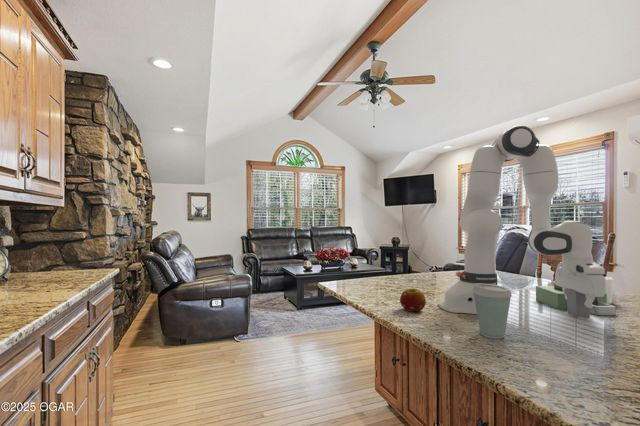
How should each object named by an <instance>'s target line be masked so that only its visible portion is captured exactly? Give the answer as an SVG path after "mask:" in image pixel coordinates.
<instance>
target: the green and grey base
mask: <svg viewBox="0 0 640 426" xmlns="http://www.w3.org/2000/svg"><path fill="white" fill-rule="evenodd" d="M535 300H536V301H538V302H540V303H543V304H545V305H547V306H550V307H552V308H554V309H557V310H567V300H565V294H564V292H563V289H562V287H560V286H557V285H556V284H555V282H554V283H553V285H535ZM589 309H590V314H593V315H595V316H617V306H615V305H612V304H607V294H605V295H604V296H603V297H595V299H594V301H593V303H592V308H589Z"/></svg>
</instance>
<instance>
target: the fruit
mask: <svg viewBox="0 0 640 426" xmlns="http://www.w3.org/2000/svg"><path fill="white" fill-rule="evenodd" d="M399 303H400V306H401V307H402V308H403V309H405V310H406V311H408V312H412V313H417V312H420V311H422V310H423V309H424V308H425V306H426V304H427V299H426V296H425V294H424V292H423V291H421V290H420V289H418V288H408V289H405V290H403V291H402V293H400V296H399Z"/></svg>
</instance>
